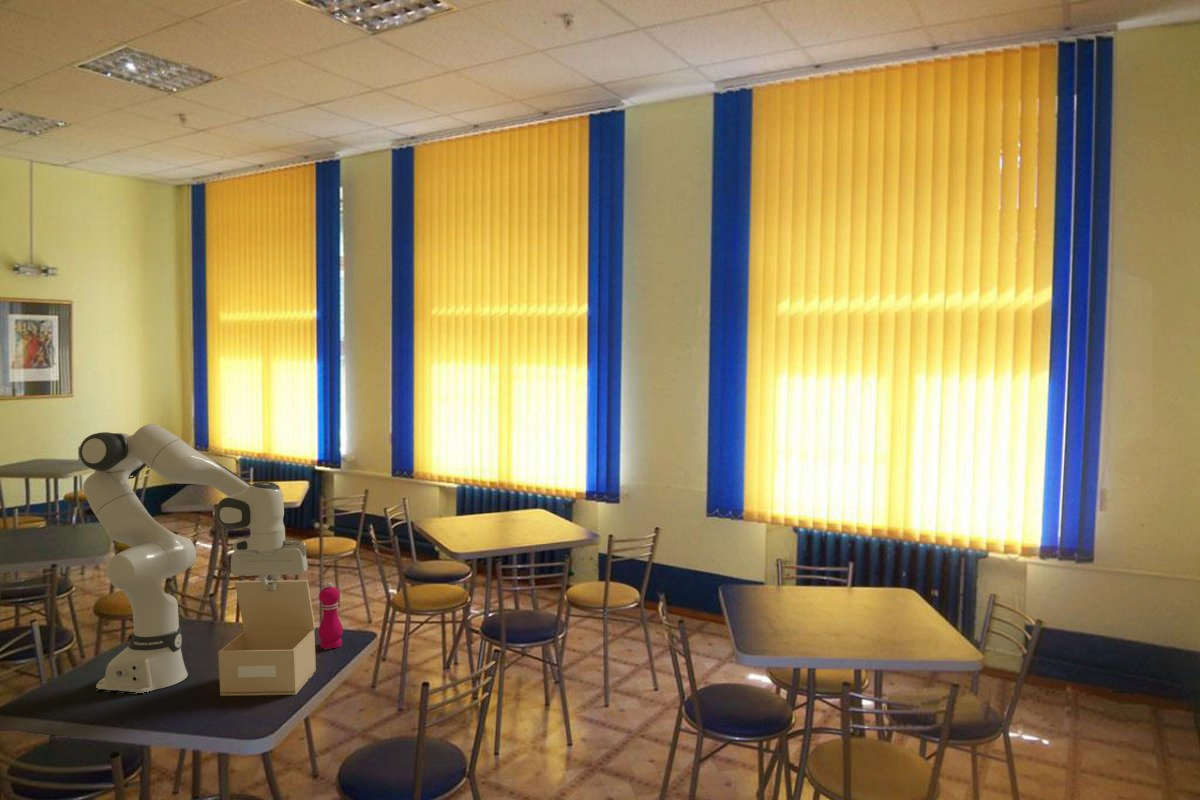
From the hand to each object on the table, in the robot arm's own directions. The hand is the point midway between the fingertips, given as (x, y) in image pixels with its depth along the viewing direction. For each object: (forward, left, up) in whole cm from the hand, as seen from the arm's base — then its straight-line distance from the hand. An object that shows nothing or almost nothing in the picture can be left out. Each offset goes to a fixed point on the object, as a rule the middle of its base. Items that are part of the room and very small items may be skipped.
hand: (270, 590), depth 231 cm
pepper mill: (+8, +25, -25) cm, 37 cm away
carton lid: (0, +3, -6) cm, 6 cm away
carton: (0, -3, -25) cm, 25 cm away
